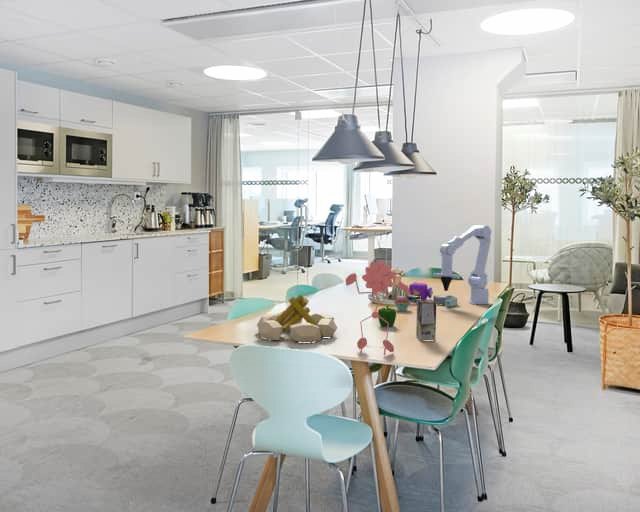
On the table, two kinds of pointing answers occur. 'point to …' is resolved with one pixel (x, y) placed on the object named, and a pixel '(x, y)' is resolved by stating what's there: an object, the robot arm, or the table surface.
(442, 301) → the camera case
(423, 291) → the toy camera
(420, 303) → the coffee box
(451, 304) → the teal bar
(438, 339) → the table surface
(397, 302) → the cupcake
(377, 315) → the figurine
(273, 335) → the campfire
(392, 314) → the bell pepper
